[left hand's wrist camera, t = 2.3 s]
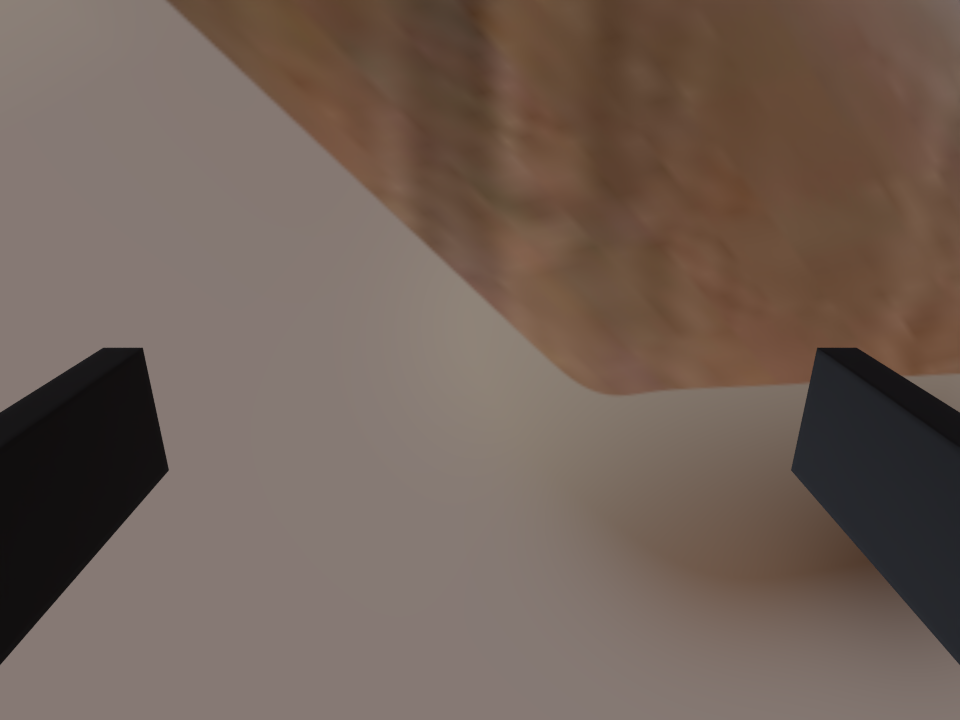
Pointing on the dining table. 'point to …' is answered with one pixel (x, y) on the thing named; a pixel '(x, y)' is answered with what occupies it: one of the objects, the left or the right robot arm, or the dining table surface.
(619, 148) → the dining table surface
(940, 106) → the dining table surface
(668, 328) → the dining table surface
